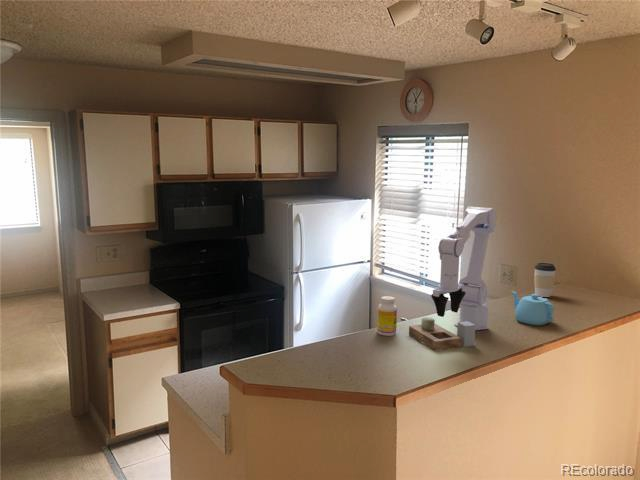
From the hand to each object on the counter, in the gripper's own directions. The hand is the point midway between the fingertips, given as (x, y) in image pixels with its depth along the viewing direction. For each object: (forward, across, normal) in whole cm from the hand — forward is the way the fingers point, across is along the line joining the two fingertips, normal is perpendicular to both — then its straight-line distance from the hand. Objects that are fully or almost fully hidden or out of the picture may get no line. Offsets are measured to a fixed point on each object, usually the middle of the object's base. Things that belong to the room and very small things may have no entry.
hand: (447, 313), depth 170 cm
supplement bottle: (+10, +10, -18) cm, 23 cm away
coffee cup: (+10, -85, -8) cm, 86 cm away
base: (+10, +2, -3) cm, 10 cm away
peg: (+10, -3, +6) cm, 11 cm away
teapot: (+10, -44, +7) cm, 46 cm away
